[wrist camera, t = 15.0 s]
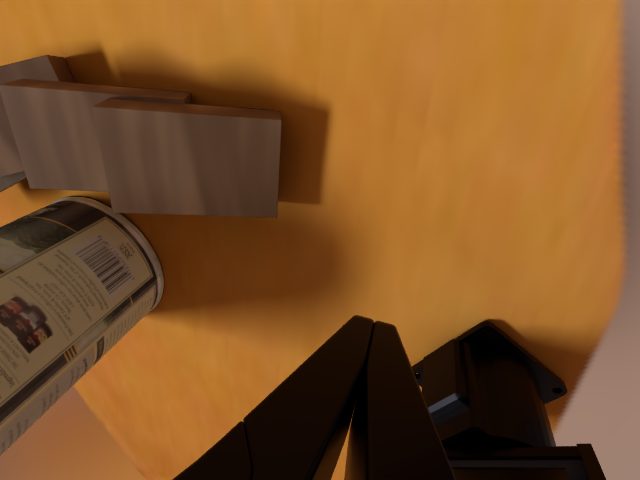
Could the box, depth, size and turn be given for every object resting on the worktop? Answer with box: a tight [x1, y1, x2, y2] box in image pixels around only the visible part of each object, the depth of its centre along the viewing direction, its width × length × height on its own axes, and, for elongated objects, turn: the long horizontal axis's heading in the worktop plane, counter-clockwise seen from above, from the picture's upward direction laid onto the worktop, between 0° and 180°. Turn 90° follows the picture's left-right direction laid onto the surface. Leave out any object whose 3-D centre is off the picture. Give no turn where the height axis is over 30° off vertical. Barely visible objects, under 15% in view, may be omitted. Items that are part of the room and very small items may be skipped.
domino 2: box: [0, 79, 192, 192], centre depth 20 cm, size 2×5×8 cm
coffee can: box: [0, 197, 164, 456], centre depth 22 cm, size 10×10×14 cm
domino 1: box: [0, 55, 75, 177], centre depth 20 cm, size 2×5×8 cm
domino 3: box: [92, 98, 281, 218], centre depth 19 cm, size 2×5×8 cm
